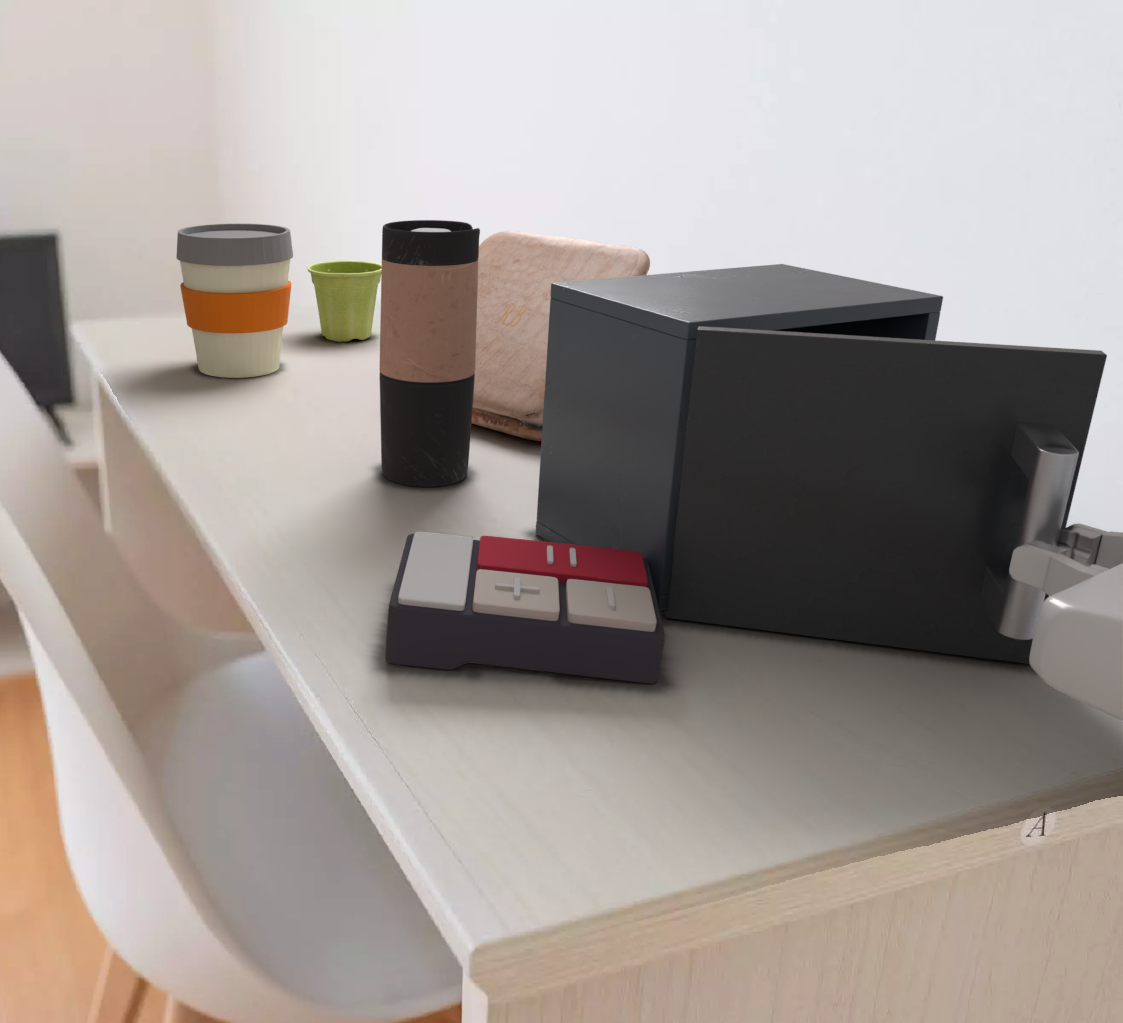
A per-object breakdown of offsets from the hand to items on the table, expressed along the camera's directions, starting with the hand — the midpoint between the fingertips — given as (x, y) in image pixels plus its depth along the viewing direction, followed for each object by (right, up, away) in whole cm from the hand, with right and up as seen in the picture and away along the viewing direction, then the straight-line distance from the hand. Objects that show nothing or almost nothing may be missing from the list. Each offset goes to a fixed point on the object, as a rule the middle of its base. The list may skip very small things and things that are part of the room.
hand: (1039, 548), depth 58 cm
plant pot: (-35, +23, +86) cm, 96 cm away
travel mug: (-28, +5, +38) cm, 48 cm away
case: (-17, +12, +57) cm, 60 cm away
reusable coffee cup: (-47, +18, +71) cm, 87 cm away
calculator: (-24, -5, +11) cm, 27 cm away
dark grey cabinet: (-9, -1, +24) cm, 25 cm away
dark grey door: (-6, -6, +8) cm, 12 cm away
